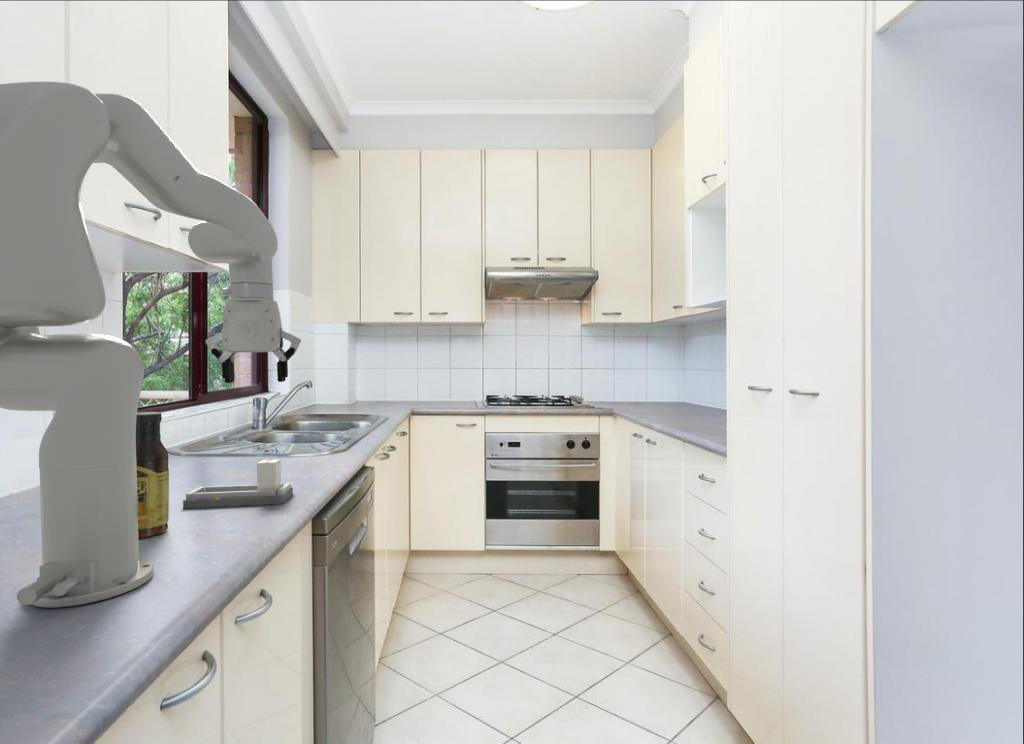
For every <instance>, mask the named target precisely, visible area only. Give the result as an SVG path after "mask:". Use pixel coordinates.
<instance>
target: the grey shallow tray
mask: <svg viewBox="0 0 1024 744" xmlns="http://www.w3.org/2000/svg"><path fill="white" fill-rule="evenodd" d="M292 495H294V487H293V486H292V483H291V482H289V483H288V482H287V483H285V484H284V483H281V488H280V489H279V490H278V491H277V490H257V484H239V485H238V484H237V485H236V484H235V485H215V486H214V485H213V486H209V485H208V486H198V487H196V488H194V489H193V490H191V491H189V492H187V493H185V499H184V500H183V501H182V508H184V509H201V508H205V507H206V508H221V507H222V508H224V506H229V507H242V506H241V505H252V506H265V505H264V504H274V505H283V504H284V503H285V502H286V501H287V500H289V498H290V497H291V496H292ZM284 501H285V502H284ZM283 502H284V503H283ZM282 503H283V504H282Z"/></svg>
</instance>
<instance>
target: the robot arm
mask: <svg viewBox="0 0 1024 744" xmlns="http://www.w3.org/2000/svg"><path fill="white" fill-rule="evenodd" d="M101 163H102V164H106V165H109V166H110V167H112V168H113V169H114V170H116V171H117V173H118V174H120V175H121V176H122V177H123V178H124V179H125V180H126V181H128V183H130V184H131V185H132V186H133V187H134V188H135V189H136V190H137V191H138V192H139V193H140V194H141V196H144V198H146V200H147V201H148V202H149V203H150V204H152V205H153V206H154V207H156V208H158V209H159V210H162V211H164V212H167V213H170V214H173V215H176V216H180V217H185V218H189V219H192V220H196V221H197V220H198V221H200V222H198V223H196V224H194V225H193V226H192V227H190V230H189V232H188V236H187V240H188V242H187V243H188V246H189V248H190V250H191V252H192V253H193V254H194V255H195V256H196V257H197V258H198V259H199V260H202V261H204V262H206V263H210V264H228V267H229V284H228V287H224V288H222V295H223V296H227V297H229V299H230V300H225V305H224V310H223V321H222V331H221V332H219V333H217V334H215V335H213V336H211V337H209V338H207V339H205V344H206V345H207V347H208V348H209V350H210V352H211V354H212V355H213V356H214V357H215V358H216V359H217V360H218V361H219V362H220V363H221V376H222V379H224V383H225V384H230V383H233V382H235V363H234V362H233V361H232V359H233V358H234V357H235V356H236V354H237V353H270V352H272V353H273V354H274V355H275V356H276V357H277V359H278V361H277V362H276V373H277V375H276V376H277V382H278V383H283V382H286V378H288V376H289V369H288V368H289V366H288V363H289V362H288V361H289V360H290V359H291V358H292V357H293V356H294V355H295V354H296V353H297V350H298V349H299V347H300V345H301V343H302V339H301V338H299V337H297V336H296V335H294V334H292V333H289V332H287V331H285V330H283V326H282V318H281V312H280V310H279V309H280V307H279V305H278V301H275V300H274V284H273V282H274V279H273V258H274V257H275V255H276V253H277V251H278V239H277V238H278V237H277V235H276V232H275V230H274V227H273V225H272V224H271V222H270V221H269V219H268V218H267V217H266V215H265V214H264V213H263V211H262V210H261V208H259V206H258V205H257V204H256V203H255V202H254V201H253V199H251V198H249V197H248V196H246V195H245V194H244V193H242V192H241V191H239V190H237V189H235V188H233V187H231V186H229V185H228V184H225V183H224V182H223V181H220V180H219V179H216V178H214V177H212V176H210V175H209V174H206V173H203V172H201V171H199V170H198V169H197V168H196V166H194V164H192V162H191V161H190V160H189V159H188V157H187V156H186V155H185V154H184V153H183V152H182V151H181V149H180V148H179V147H178V146H177V145H176V143H174V141H173V140H172V139H171V137H170V136H169V135H168V134H167V133H166V132H165V130H163V128H162V127H161V126H160V124H159V123H158V122H157V121H156V120H155V119H154V118H153V116H151V114H150V113H149V112H148V111H147V109H146V108H144V106H142V105H141V103H139V102H137V101H136V100H134V99H132V98H130V97H128V96H124V95H121V94H115V93H95V92H93V91H92V90H89V89H87V88H85V87H83V86H80V85H77V84H74V83H68V82H60V81H24V82H23V81H22V82H20V81H19V82H9V83H0V409H4V410H10V411H21V412H22V411H25V412H26V411H27V412H36V411H37V412H38V411H39V412H43V411H44V412H46V411H47V412H55V413H54V415H53V417H52V419H51V421H50V422H49V423H48V426H47V428H46V429H45V432H44V433H43V435H42V437H41V440H40V444H39V449H38V468H39V493H40V494H39V495H40V521H41V522H40V524H41V525H40V527H41V554H42V555H41V556H42V565H39V576H38V577H37V578H36V580H35V581H33V582H32V583H30V584H27V585H26V586H25V587H23V588H21V589H20V590H18V591H17V594H16V600H17V602H18V603H19V604H21V605H23V606H25V605H26V606H29V605H30V606H34V607H38V608H47V609H49V608H53V609H54V608H65V607H66V608H67V607H73V606H81V605H86V604H87V605H88V604H91V603H96V602H99V601H103V600H107V599H111V598H113V597H116V596H119V595H122V594H125V593H128V592H130V591H132V590H135V589H137V588H139V587H141V586H142V585H144V584H145V583H147V582H148V581H149V580H151V578H152V577H153V576H154V564H153V563H152V562H151V561H149V560H147V559H143V558H140V552H139V551H140V548H139V546H140V545H139V538H138V505H137V469H136V417H137V413H138V408H139V402H140V397H141V393H142V387H143V382H144V376H145V375H144V372H145V370H144V369H145V368H144V363H143V360H142V357H141V356H140V353H139V352H138V351H137V350H136V348H134V346H132V345H131V344H130V343H129V342H127V341H125V340H122V339H121V338H118V337H115V336H111V335H105V334H100V333H98V334H97V333H54V334H41V331H40V329H39V327H43V328H44V327H69V326H77V325H83V324H86V323H90V322H92V321H94V320H96V318H98V317H100V316H101V315H102V313H103V312H104V310H105V307H106V291H105V286H104V282H103V278H102V276H101V275H102V274H101V272H100V269H99V266H98V263H97V258H96V255H95V252H94V248H93V245H92V242H91V239H90V235H89V232H88V228H87V225H86V222H85V221H86V220H85V216H84V213H83V208H82V203H81V201H82V200H81V199H82V198H81V195H82V194H81V193H82V187H83V183H84V180H85V177H86V175H87V173H88V171H89V169H90V168H91V166H92V165H93V164H101ZM284 339H285V340H287V341H289V342H290V346H289V348H287V350H286V351H285V350H284V349H283V348H284ZM221 341H222V347H223V350H224V351H223V350H221V349H220V347H219V346H218V343H219V342H221Z"/></svg>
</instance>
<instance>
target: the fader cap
mask: <svg viewBox="0 0 1024 744" xmlns="http://www.w3.org/2000/svg"><path fill="white" fill-rule="evenodd" d="M281 466H282V463H281V459H279V458H277V459H276V458H275V459H272V458H271V459H261V460H260V461H259V462H257V463H256V483H257V484H256V485H257V490H277V491H278V490H279V489H280V488H281V484H282V480H281V479H282V475H281V472H282V471H281Z"/></svg>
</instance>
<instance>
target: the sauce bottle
mask: <svg viewBox="0 0 1024 744" xmlns="http://www.w3.org/2000/svg"><path fill="white" fill-rule="evenodd" d="M162 420H163V419H162V412H159V411H140V412H139V411H138V412H137V417H136V469H137V505H138V539H145V538H149V537H154V536H157V535H160V534H163V533H165V532H166V531H167V530H168V527H169V524H168V522H169V517H170V516H169V514H170V513H169V511H170V509H169V505H170V503H169V502H170V501H169V498H170V495H169V493H170V492H169V491H170V481H169V480H170V469H169V452H168V449H167V448H166V447H165V446H164V444H163V443H162V439H161V436H162V435H161V422H162Z"/></svg>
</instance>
